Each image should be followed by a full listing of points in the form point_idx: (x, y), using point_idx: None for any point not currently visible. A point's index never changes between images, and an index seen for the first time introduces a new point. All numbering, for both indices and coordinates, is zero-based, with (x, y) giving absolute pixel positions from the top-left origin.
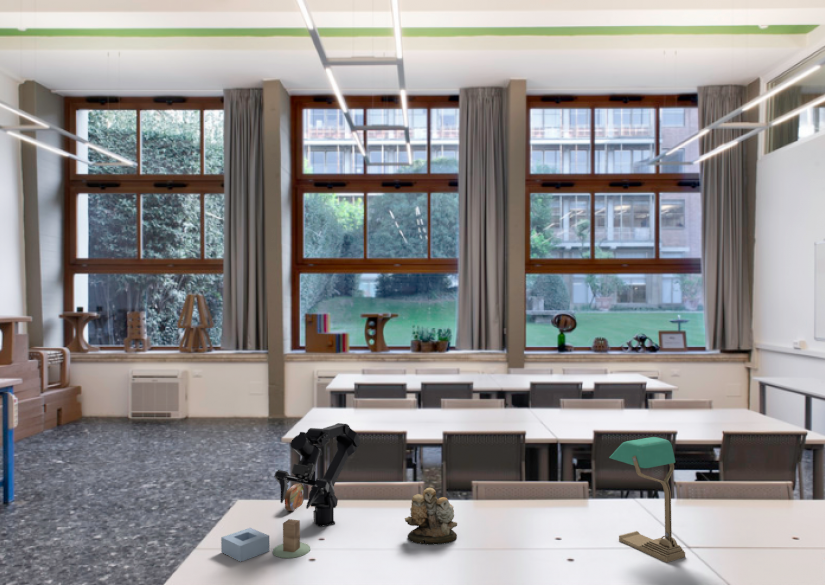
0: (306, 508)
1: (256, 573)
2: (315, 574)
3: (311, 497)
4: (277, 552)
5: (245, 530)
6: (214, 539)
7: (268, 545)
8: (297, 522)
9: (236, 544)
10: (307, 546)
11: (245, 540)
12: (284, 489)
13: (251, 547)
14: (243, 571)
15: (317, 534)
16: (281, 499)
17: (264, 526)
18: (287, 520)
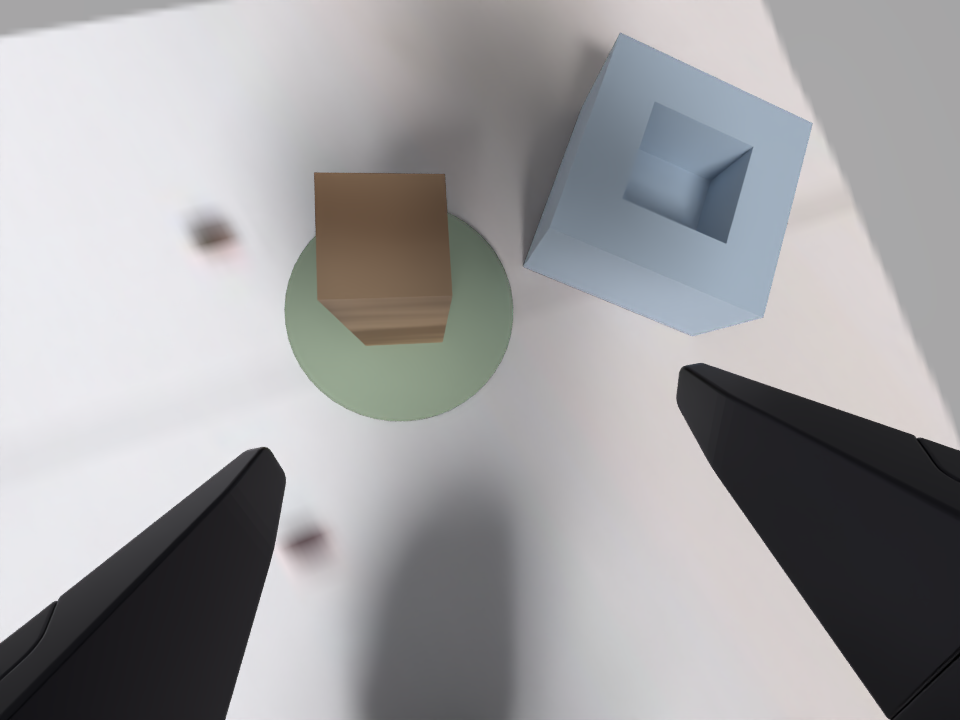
0: (276, 464)
1: (425, 17)
2: (97, 67)
3: (61, 612)
4: (458, 243)
5: (756, 261)
6: (879, 310)
7: (534, 247)
8: (317, 251)
9: (658, 52)
10: (326, 375)
11: (646, 114)
12: (923, 534)
13: (580, 126)
14: (499, 23)
15: (374, 603)
16: (720, 378)
17: (773, 581)
18: (444, 255)
